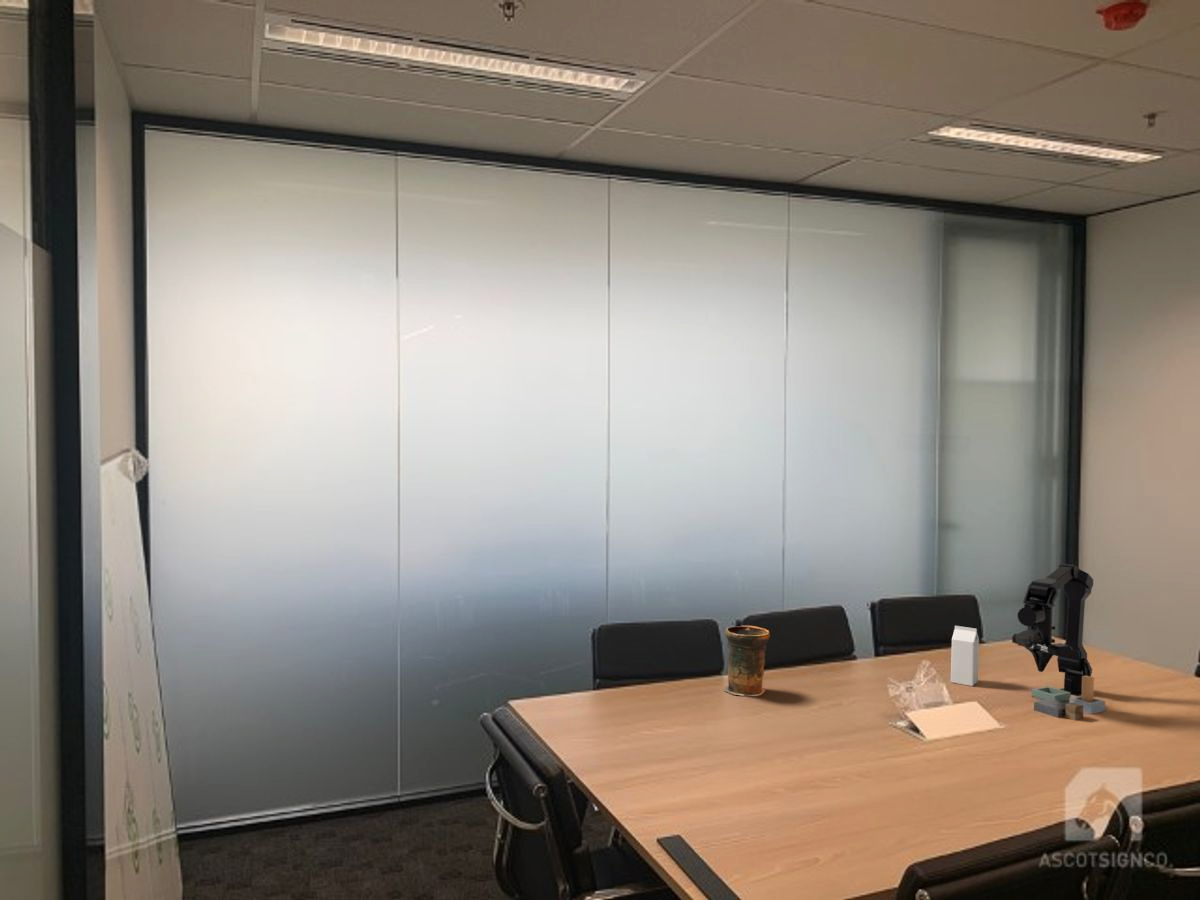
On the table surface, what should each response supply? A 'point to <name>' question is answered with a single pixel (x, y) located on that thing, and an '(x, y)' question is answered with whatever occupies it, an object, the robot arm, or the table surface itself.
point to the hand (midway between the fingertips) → (1040, 671)
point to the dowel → (1087, 688)
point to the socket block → (1089, 704)
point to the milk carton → (964, 656)
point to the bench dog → (1074, 711)
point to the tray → (1050, 694)
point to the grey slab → (1051, 707)
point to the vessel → (746, 659)
